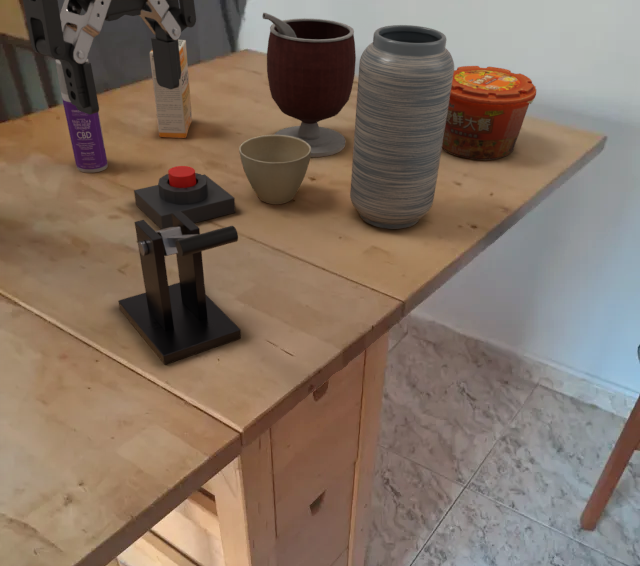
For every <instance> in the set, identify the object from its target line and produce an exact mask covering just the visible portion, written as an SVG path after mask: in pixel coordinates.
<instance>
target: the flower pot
mask: <svg viewBox="0 0 640 566" xmlns="http://www.w3.org/2000/svg"><path fill="white" fill-rule="evenodd" d="M238 151H239V158H240V161H241V165H242V168H243V171H244V174H245V176H246V178H247V181H248V182H249V184H250V186H251V188H252V190H253V191H254V193H255V194H256V196H257V197H258V198H259V200H260V201H262V202H264V203H266V204H269V205H282V204H287V203H289V202H290V201H292V200H293V199H294V198H295V196H296V194H297V193H298V191H299V190H300V188H301V185H302V183H303V182H304V179H305V177H306V174H307V171H308V167H309V163H310V159H311V157H310V154H311V147H310V145H309V144H308V143H307V142H305V141H304V140H301V139H299V138H296V137H292V136H286V135H274V134H265V135H263V134H262V135H259V136H254V137H251V138H248V139H246V140H245V141H243V142H242V143H241V144H240V145H239V147H238Z"/></svg>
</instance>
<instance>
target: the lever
mask: <svg viewBox="0 0 640 566" xmlns="http://www.w3.org/2000/svg"><path fill="white" fill-rule="evenodd" d="M155 231H156V232H157V233H158V234H159V235H160V236H161V237H162V241H163V249H164V256H165V257H168V256H173V255H176V253H179V255H180V256H182V257H183V256H186V255H190V254H193V253H197V252H201V251H202V252H205V251H207V250H211V249H215V248H218V247H219V248H220V247H221V246H225V245H229V244H233V243H236V242H238V240H239V234H238V230H237V229H236V227H235V225H229V226H225V227H221V228H217V229H214V230H210V231H207V232H203V233H200V234H196V235H182V231H181V228H180V227H169V228H166V229H162V230H161V229H157V230H155Z"/></svg>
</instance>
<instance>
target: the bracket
mask: <svg viewBox="0 0 640 566" xmlns="http://www.w3.org/2000/svg"><path fill="white" fill-rule="evenodd" d="M171 214H172V222H173V227H180V228H181V231H182V235H196V234H201V230H200V227H199V226H198V225H197V224H196V223H193V222H192V221H191V220H190V219H189V218H188V217H187V216H185V215H184V214H183V213H182V212H181V211H177V212H173V213H171ZM134 227H135V228H134V229H135V234H136V241H137V246H138V253H139V258H140V265H141V273H142V278H143V286H144V291H145V292H143V293H140V294H139V293H138V294H136V295H133V296H130V297H126V298H122V299H119V300H117V301H118V307H119V310H120V312H121V313H122V314H123V315H124V316H125V318H126V319H127V320H128V321H129V323H130V324H131V325H132V327H134V329H135V330H136V331H137V333H138V334H139V335H140V336H141V337H142V339H143V340H144V341H145V343H146V344H147V345H148V346H149V347H150V348H151V350H152V351H153V352H154V353H155V355H156V356H157V357H158V359H160V361H161V362H162V363H163V364H164V365H168V364H171V363H174V362H177V361H180V360H183V359H186V358H188V357H191V356H194V355H197V354H200V353H202V352H206V351H209V350H212V349H214V348H218V347H220V346H222V345H225V344H229V343H232V342H235V341H237V340H240V339H241V337H242V335H241V334H242V331H241V328H240V327H239V326H238V325H237V324H235V322H234V321H233V320H232V319H231V318H230V317H229V316H228V315H227V314H226V313H225V312H224V311H223V310H222V309H221V308H220V307H219V306H218V305H217V304H216V303H215V302H214V301H213V300H212V299H211V298H210V297H209V296H208V295H207V294H206V286H205V273H204V264H203V263H204V262H203V253H202V252H203V251H201V252H197V253H193V254H190V255H186V256H183V257H182V256H180V255H179V253H176V254H175V256H176V264H177V272H178V280H179V282H176V283H173V284H170V285H169V280H168V271H167V265H166V256H164V249H163V241H162V237H161V236H160V235H159V234H158V233H157V232H156V231H157V230H155V229H154V228H153V227H152V226H151V225H150V224H149V223H147V222H146V220H145V219H140V220H136V221H134Z"/></svg>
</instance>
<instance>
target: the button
mask: <svg viewBox="0 0 640 566" xmlns="http://www.w3.org/2000/svg"><path fill="white" fill-rule="evenodd" d="M195 173H196V170H195V168H193V167H192V166H187V165H177V166H174V167H171V168H170V169H168V171H167V174H168V175H169V183H170V186H172V187H176V188H187V187H192V186H194V185H196V175H195Z"/></svg>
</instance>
